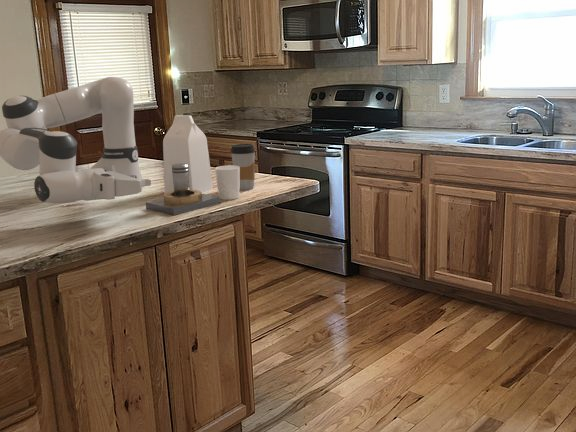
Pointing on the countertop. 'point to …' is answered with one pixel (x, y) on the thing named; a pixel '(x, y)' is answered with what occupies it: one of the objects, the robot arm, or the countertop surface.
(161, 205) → the ring block
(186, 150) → the milk
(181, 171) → the salt shaker
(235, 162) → the coffee cup
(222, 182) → the white cup
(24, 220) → the countertop surface
